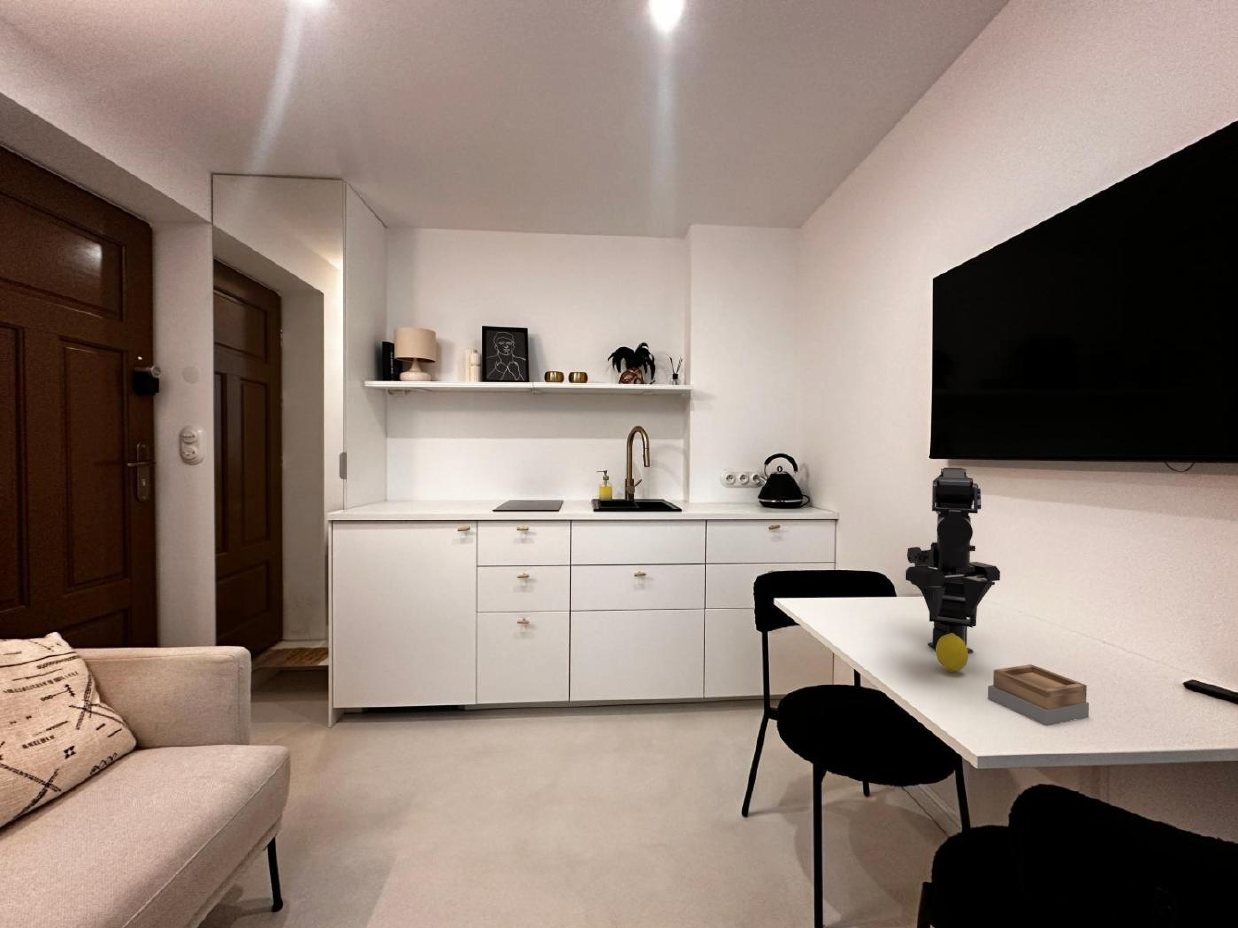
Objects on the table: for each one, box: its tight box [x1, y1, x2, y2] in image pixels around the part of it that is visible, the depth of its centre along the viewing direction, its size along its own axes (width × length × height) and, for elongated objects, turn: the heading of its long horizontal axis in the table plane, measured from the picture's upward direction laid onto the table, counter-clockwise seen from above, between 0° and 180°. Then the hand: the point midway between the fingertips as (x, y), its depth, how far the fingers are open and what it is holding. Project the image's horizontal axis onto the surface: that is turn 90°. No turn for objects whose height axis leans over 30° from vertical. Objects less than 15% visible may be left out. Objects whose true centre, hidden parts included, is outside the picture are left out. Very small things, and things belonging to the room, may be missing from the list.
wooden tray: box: [992, 663, 1088, 710], centre depth 94 cm, size 9×9×3 cm
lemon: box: [935, 633, 969, 673], centre depth 109 cm, size 6×6×8 cm
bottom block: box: [987, 684, 1090, 727], centre depth 94 cm, size 10×10×3 cm
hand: (951, 615), depth 109 cm, fingers open, 9 cm apart
